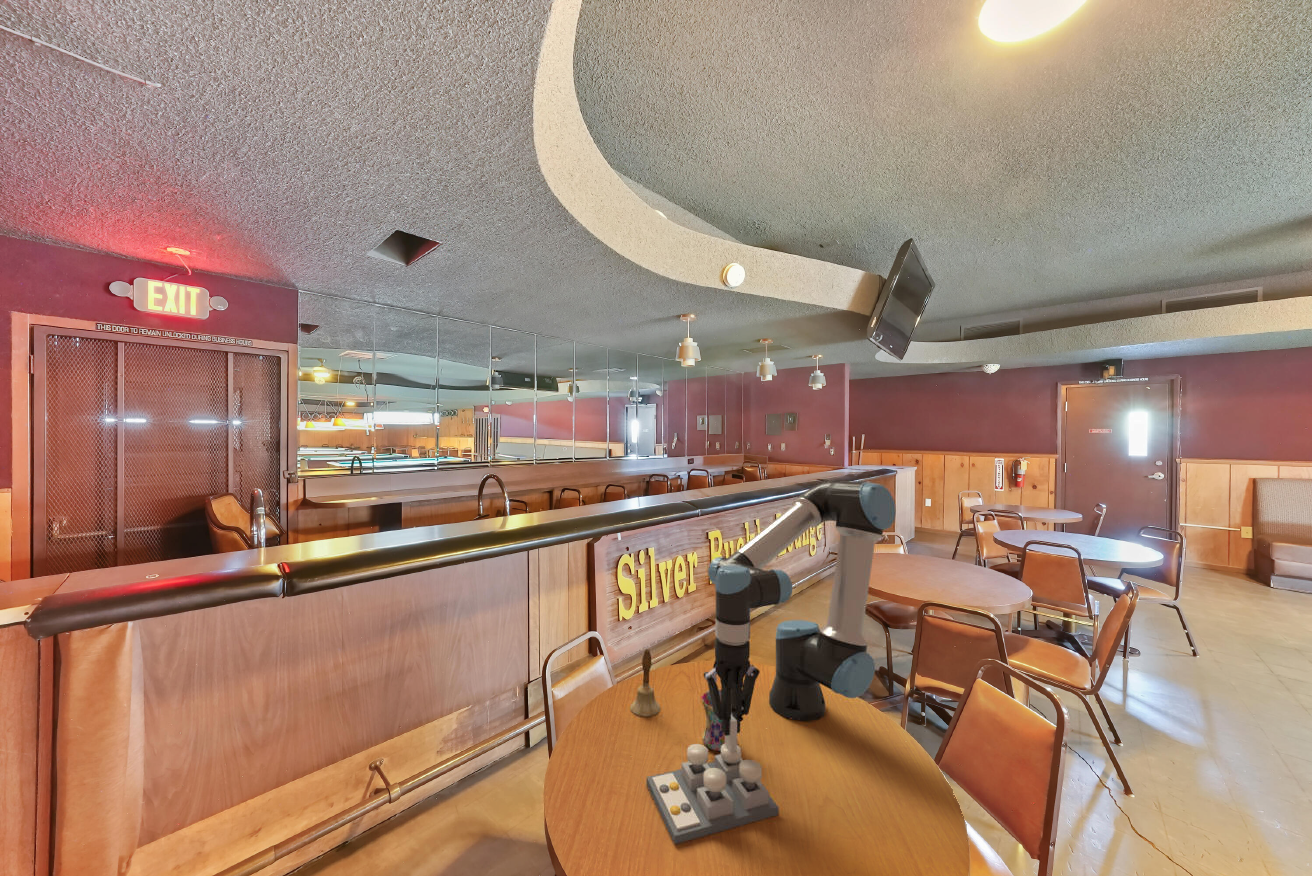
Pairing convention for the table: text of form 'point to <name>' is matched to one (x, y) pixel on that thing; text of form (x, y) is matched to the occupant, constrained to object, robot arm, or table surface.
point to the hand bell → (645, 692)
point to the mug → (712, 725)
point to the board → (707, 801)
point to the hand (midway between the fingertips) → (730, 748)
